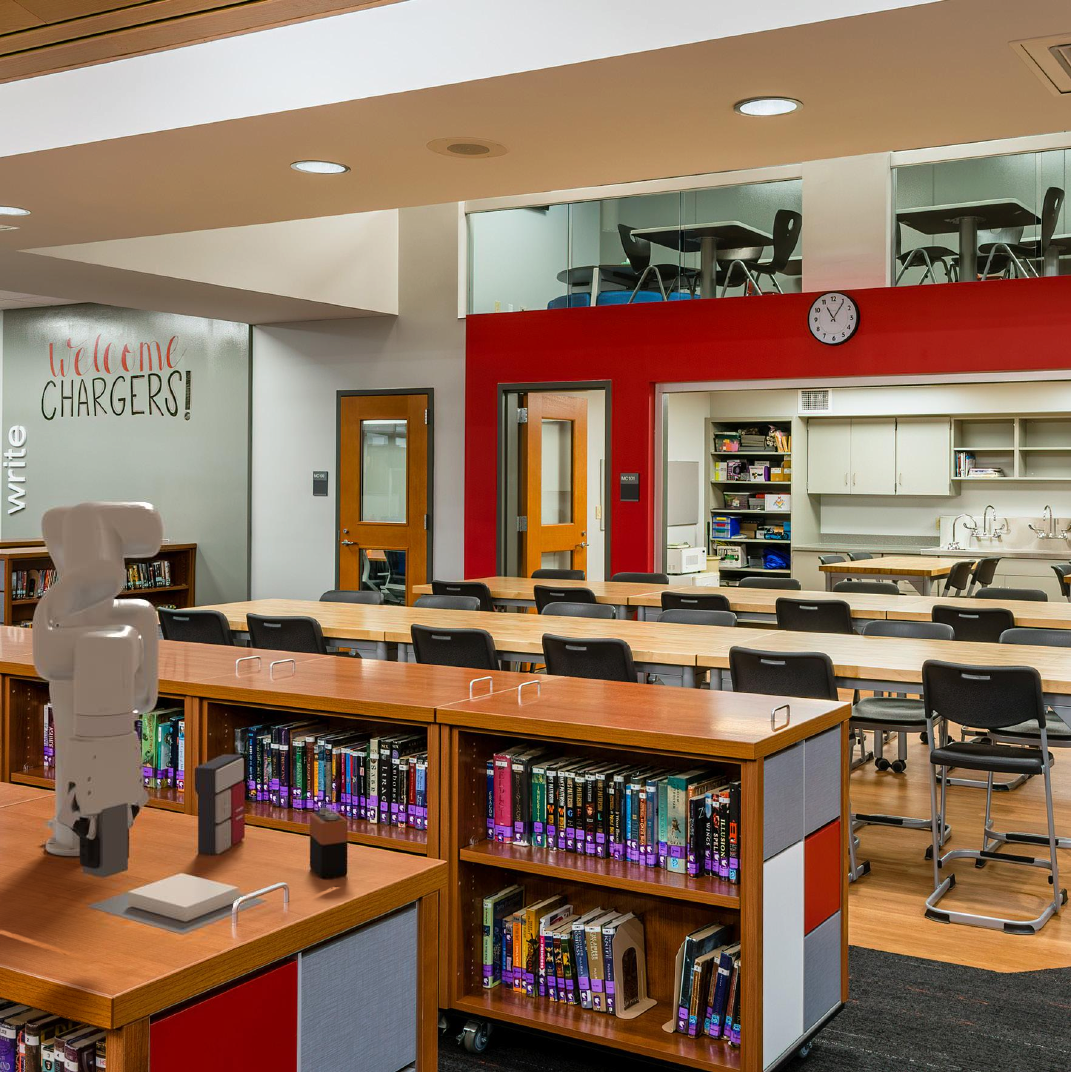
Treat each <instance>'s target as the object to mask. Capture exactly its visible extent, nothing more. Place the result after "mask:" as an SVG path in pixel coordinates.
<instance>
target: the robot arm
mask: <svg viewBox="0 0 1071 1072" xmlns="http://www.w3.org/2000/svg"><path fill="white" fill-rule="evenodd" d="M162 521H163V520H162V518H161V515H160V513H159V511H158V509H157V508H156V507H155V505H153V504H151V503H150V502H149V503H148V502H142V501H141V502H140V501H87V502H83V503H79V504H76V505H65V506H63V505H62V506H56V507H54V508H51V509H48V510H47V511H45V513H43V515H42V517H41V527H40V528H41V534H42V538H43V539H42V540H43V542H44V545H45V547H46V550H47V553H49V554H48V555H49V556H50V558H51V560H52V562H53V565H54V567H55V569H56V573H57V578H58V580H56V581H55V583H53V584H52V585H51V586H49V588H48V589H47V590H46V592H44V594H43V595H42V596H41V598H40V600H39V601H38V602H37V605H36V607H35V610H34V613H33V617H32V618H33V619H32V625H31V626H32V633H31V636H32V637H31V638H32V660H33V666H34V670H35V671H36V674H37V675H38V676H40V678H41V679H43V680H45V681H49V686H48V689H49V699H50V704H51V705H50V706H51V711H52V718H53V727H54V746H55V747H54V751H55V753H54V758H55V760H54V763H55V764H54V765H55V767H54V768H55V772H54V773H55V775H54V776H55V780H54V781H55V784H54V786H55V791H54V792H55V797H54V798H55V815H54V816H53V817H52V819H48V820H47V821H46V822H45V827H46V828H47V829H52V837H50V838H48V840H47V841H46V842H45V850H46V851H47V852H48V853H50V854H52V855H56V856H63V857H79V864H80V866H81V867H83V866H85V867H89V868H93V869H96V868H99V865H100V861H99V838H97V837H95V836H96V832H97V825H98V818H99V814H100V813H102V809H106V808H110V807H114V806H118V805H122V804H125V803H128V859H129V858H130V829H132V828H133V827H134V824H135V823H134V820H135V818H136V817H137V816H138V814H139V813H140V810H141V809H142V808H143V807H144V806H145V805H147V803H148V802H149V800H150V796H149V794H148V793H147V791H146V789H145V787H144V769H143V758H142V756H143V755H142V751H141V750H142V749H141V744H140V740H139V739H140V738H139V736H138V732H137V731H136V730H135V722H136V721H138V720H139V718H140V715H144V714H147V713H150V712H152V711H153V710H154V708H155V707H156V705H157V701H158V697H159V696H158V695H159V650H160V649H159V646H160V645H159V640H160V639H159V638H160V637H159V636H160V635H159V632H160V631H159V621H158V614H157V612H156V609H155V607H154V606H153V604H152V603H151V602H150V601H148V600H145V599H140V598H128V599H127V598H123V599H122V598H119V599H116V597H117V596H118V595H119V594H120V593H122V591H123V590H124V588H125V585H126V581H127V572H126V566H125V565H126V564H125V559H127V558H132V559H139V558H141V559H143V558H152V557H154V556H156V555H157V554H158V553H159V551H160V549H161V547H162V543H163V536H164V531H163V530H164V529H163V522H162ZM87 818H88V824H87V825H86V822H87Z"/></svg>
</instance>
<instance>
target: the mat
mask: <svg viewBox="0 0 1071 1072" xmlns="http://www.w3.org/2000/svg"><path fill="white" fill-rule="evenodd" d="M243 896H246V894H242V893H239V892H238V899H239V898H240V897H243ZM265 902H267V900H266V899H262V898H258V897H255V898H254V899H251V900H248V901H247V902H245V903H243V904H242V905H240V908H239V912H240V913H241V912H242V911H245V910H247V909H250V908H252V907H255V906H256V905H260V904H262V903H265ZM86 907H87V908H90V909H93V910H96V911H100V912H104V913H106V914H111V915H113V916H117V917H120V918H124V919H128V920H131V921H135V922H138V923H141V924H145V925H148V926H152V927H154V928H158V929H163V930H166V931H169V932H173V933H174V934H175V933H176V934H180V935H185V934H188V933H190V932H193V931H196V930H197V929H200V928H203V927H205V926H208V925H210V924H213V923H215V922H218V921H220V920H222V919H225V918H227V917H230V916H233V915H232V908H233V904H231V905H228V906H226V907H223V908H221V909H218V910H216V911H213V912H211V913H208V914H206V915H203V916H200V917H198V918H195V919H193V920H190V921H188V922H184V921H180V920H176V919H173V918H169V917H166V916H162V915H159V914H155V913H152V912H148V911H144V910H141V909H137V908H134V907H132V906H129V905H128V891H127V892H124V893H122V894H118V895H115V896H113V897H109V898H106V899H105V900H101V901H98V902H94V903H92V904H89V905H86ZM239 912H238V913H239Z"/></svg>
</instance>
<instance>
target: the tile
mask: <svg viewBox="0 0 1071 1072" xmlns="http://www.w3.org/2000/svg"><path fill="white" fill-rule="evenodd" d="M127 892H128V905H129V906H132V907H134V908H137V909H141V910H144V911H148V912H152V913H155V914H159V915H162V916H166V917H169V918H173V919H176V920H180V921H184V922H188V921H190V920H193V919H195V918H198V917H200V916H203V915H206V914H208V913H211V912H213V911H216V910H218V909H221V908H223V907H226V906H228V905H231V904H233V903H234V901H235V900H237V899H238V893H239V886H234V885H231V884H225V883H222V882H218V881H214V880H210V879H207V878H203V877H199V876H198V877H197V876H195V875H190V874H187V873H183V872H182V873H181V872H180V873H178V874H175V875H172V876H169V877H166V878H164V879H160V880H157V881H154V882H152V883H149V884H146V885H143V886H140V887H138V888H134V889H131V890H129V891H127Z"/></svg>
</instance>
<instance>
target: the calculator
mask: <svg viewBox="0 0 1071 1072" xmlns="http://www.w3.org/2000/svg"><path fill="white" fill-rule="evenodd" d="M243 757H244V756H243V755H242V754H226V753H224V754H220V756H217V757H215V758H212V759H211V760H209V761H207V762H204V763H202V764H200V765H198V766H196V767H195V768H194V790H195V792H196V794H197V831H198V832H197V837H198V838H197V854H198V855H205V856H206V855H207V856H215V855H218V854H219V855H220V854H222V853H224V852H225V851H226V849H227V850H228V849H230V848H232V847H233V846H235V845H236V844H237V842H238V843H239V842H241V841H242V840H243V839H244V838H245V835H246V834H245V832H246V831H245V830H246V829H245V828H246V824H245V823H246V822H245V821H246V818H245V816H246V815H245V814H246V813H245V811H246V810H245V809H246V808H245V807H246V806H245V805H246V804H245V803H246V799H245V797H246V794H245V791H246V788H245V787H246V783H245V781H244V778H245V777H244V776H245V773H244V772H245V770H244V769H245V768H244V767H245V762H244V761H245V760H244V758H243ZM235 843H236V844H235ZM234 844H235V845H234ZM232 845H233V846H232ZM224 850H225V851H224ZM223 851H224V852H223Z"/></svg>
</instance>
